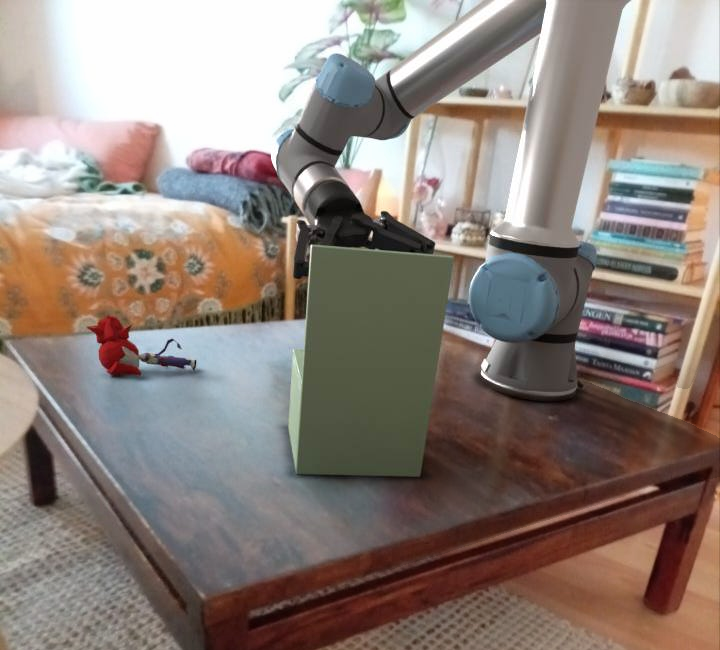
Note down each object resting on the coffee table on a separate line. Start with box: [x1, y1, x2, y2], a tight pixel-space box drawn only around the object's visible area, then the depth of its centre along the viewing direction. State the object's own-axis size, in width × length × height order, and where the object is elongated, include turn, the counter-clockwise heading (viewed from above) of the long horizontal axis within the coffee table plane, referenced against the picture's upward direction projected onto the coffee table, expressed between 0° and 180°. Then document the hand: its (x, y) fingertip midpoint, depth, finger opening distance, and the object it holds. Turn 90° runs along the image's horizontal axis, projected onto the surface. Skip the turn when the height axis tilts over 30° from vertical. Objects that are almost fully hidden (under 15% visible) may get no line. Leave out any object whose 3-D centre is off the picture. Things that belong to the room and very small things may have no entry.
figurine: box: [86, 314, 197, 376], centre depth 100 cm, size 6×8×15 cm
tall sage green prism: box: [287, 244, 455, 478], centre depth 78 cm, size 14×13×24 cm
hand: (390, 295), depth 88 cm, fingers open, 13 cm apart
